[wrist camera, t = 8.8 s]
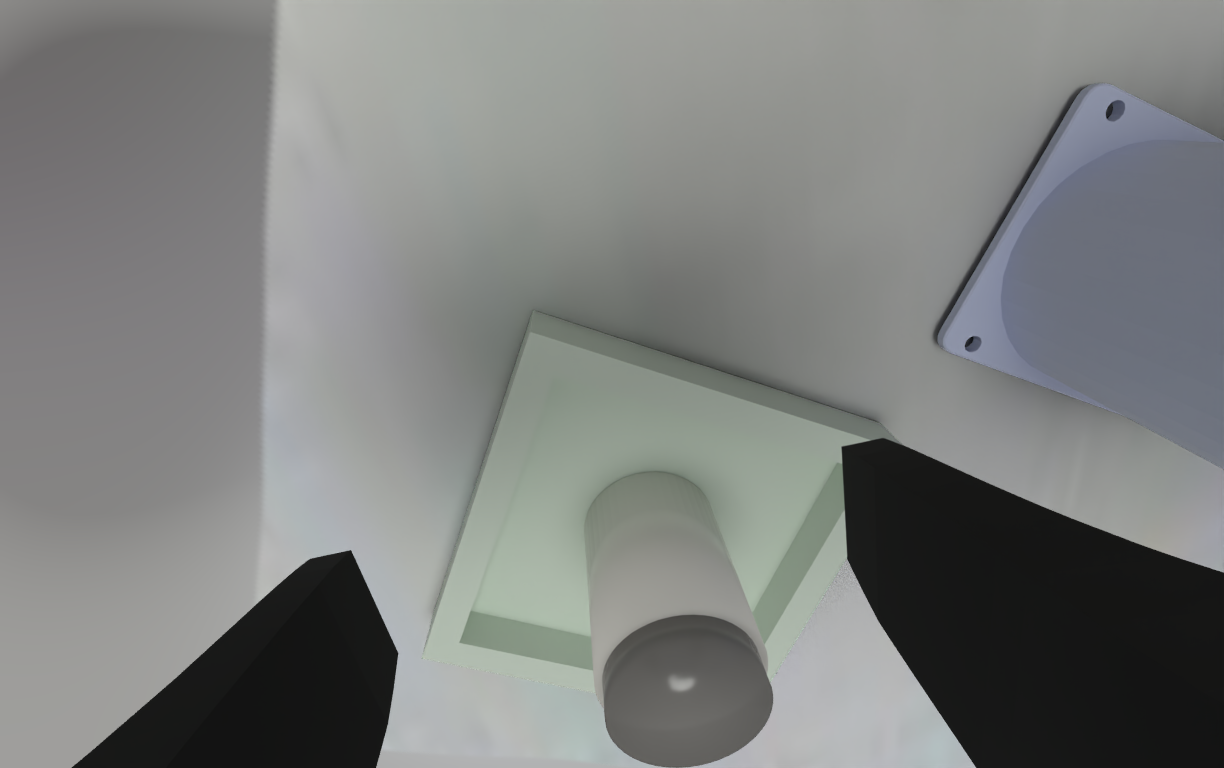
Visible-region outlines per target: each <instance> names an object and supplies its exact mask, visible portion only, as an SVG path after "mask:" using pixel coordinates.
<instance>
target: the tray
mask: <svg viewBox="0 0 1224 768" xmlns="http://www.w3.org/2000/svg"><path fill="white" fill-rule="evenodd" d="M880 438H885V439H888V440H891V441H893V442H896V443H898V444H901V443H900V442H899V441H898V440H897V439H896V438H895V437H894V436H893V435H892V434H891V433H890V432H889V431H888V430H887V429H886V428H885V427H884V426H883V425H882V424H881V423H878V422H875V421H872V420H869V419H866V418H863V417H860V416H857V415H854V414H851V413H848V412H845V411H841V410H838V409H835V408H832V407H829V406H826V405H823V404H820V403H817V402H814V401H811V400H808V399H805V398H802V397H798V396H795V395H792V394H789V393H786V392H783V391H780V390H777V389H774V388H771V387H768V386H765V385H762V384H759V383H755V382H752V381H749V380H746V379H743V378H740V377H737V376H734V375H731V374H728V373H725V372H722V371H719V370H715V369H712V368H709V367H706V366H703V365H700V364H697V363H694V362H691V361H688V360H685V359H682V358H679V357H676V356H672V355H669V354H666V353H663V352H660V351H657V350H654V349H651V348H648V347H645V346H642V345H639V344H636V343H633V342H629V341H626V340H623V339H620V338H617V337H614V336H611V335H608V334H605V333H602V332H599V331H596V330H593V329H589V328H586V327H583V326H580V325H577V324H574V323H571V322H568V321H565V320H562V319H559V318H556V317H553V316H550V315H546V314H543V313H540V312H537V311H534V310H533V312H532V315H531V318H530V321H529V324H528V327H527V330H526V333H525V336H524V339H523V342H522V345H521V348H520V351H519V354H518V357H517V360H516V363H515V366H514V370H513V373H512V376H511V379H510V382H509V385H508V388H507V391H506V394H505V397H504V400H503V403H502V406H501V409H500V412H499V415H498V418H497V421H496V424H495V427H494V430H493V433H492V436H491V439H490V442H489V445H488V448H487V452H486V455H485V458H484V461H483V464H482V467H481V470H480V473H479V476H478V479H477V482H476V485H475V488H474V491H473V494H472V497H471V500H470V503H469V506H468V509H467V512H466V515H465V518H464V521H463V524H462V527H461V531H460V534H459V537H458V540H457V543H456V546H455V549H454V552H453V555H452V558H451V561H450V564H449V567H448V570H447V573H446V576H445V579H444V582H443V585H442V588H441V591H440V594H439V597H438V600H437V603H436V606H435V609H434V613H433V616H432V620H431V624H430V628H429V632H428V636H427V640H426V643H425V647H424V651H423V655H422V659H426V660H431V661H436V662H441V663H446V664H451V665H456V666H461V667H466V668H471V669H476V670H481V671H486V672H491V673H496V674H501V675H506V676H511V677H516V678H521V679H526V680H531V681H536V682H541V683H546V684H551V685H556V686H561V687H566V688H571V689H576V690H581V691H586V692H591V693H596V692H595V687H594V675H593V660H592V644H591V629H590V614H589V599H588V584H587V569H586V553H585V538H584V524H585V519H586V516H587V513H588V510H589V508H590V506H591V505H592V503H593V502H594V500H595V499H596V498H597V497H598V496H599V494H600V493H601V492H602V491H604V490H605V489H606V488H607V487H609V486H610V485H612V484H613V483H615V482H617V481H619V480H620V479H622V478H625V477H628V476H631V475H634V474H638V473H645V472H664V473H670V474H674V475H677V476H680V477H683V478H685V479H687V480H689V481H690V482H692V483H693V484H695V485H696V486H697V487H698V488H699V489H700V490H701V491H702V492H703V493H704V494H705V496H706V497H707V499H708V501H709V502H710V505H711V508H712V510H713V513H714V515H715V518H716V521H717V523H718V526H719V528H720V531H721V534H722V536H723V539H724V541H725V544H726V547H727V549H728V552H729V554H730V557H731V559H732V562H733V565H734V567H735V570H736V572H737V575H738V578H739V580H740V583H741V585H742V588H743V591H744V593H745V596H746V598H747V601H748V604H749V606H750V609H751V611H752V614H753V617H754V619H755V622H756V624H757V627H758V630H759V632H760V635H761V637H762V640H763V643H764V645H765V648H766V650H767V655H768V671H767V676H768V679H769V682H771V681H772V679H773V677H774V676H775V674H776V673H777V671H778V669H779V668H780V666H781V664H782V663H783V661H784V659H785V658H786V656H787V655H788V653H789V651H790V650H791V648H792V646H793V645H794V643H795V642H796V640H797V638H798V637H799V635H800V633H801V632H802V630H803V628H804V627H805V625H806V624H807V622H808V620H809V619H810V617H811V615H812V614H813V612H814V611H815V609H816V607H817V606H818V604H819V602H820V601H821V599H822V597H823V596H824V594H825V593H826V591H827V589H828V588H829V586H830V584H831V583H832V581H833V580H834V578H835V576H836V575H837V573H838V571H839V570H840V568H841V566H842V565H843V563H844V562H845V560H846V558H847V544H846V525H845V506H844V487H843V468H842V449H841V447H842V446H847V445H852V444H856V443H861V442H866V441H870V440H875V439H880ZM901 445H902V444H901Z"/></svg>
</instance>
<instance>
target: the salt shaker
mask: <svg viewBox="0 0 1224 768" xmlns="http://www.w3.org/2000/svg"><path fill="white" fill-rule="evenodd" d="M584 538H585V553H586V569H587V584H588V599H589V614H590V629H591V644H592V660H593V675H594V687H595V692H596V695H597V698H598V701H599V702H600V704H601V706H602V707H603V709H604V713H605V722H606V728H607V731H608V733H609V735H610V737H611V739H612V741H613V742H614V743H615V744H616V745H617V747H618V748H620V749H621V750H622V751H623V752H624V753H626V754H627V755H629V756H630V757H632V758H634V759H636V760H639V761H641V762H644V763H647V764H651V765H655V766H661V767H676V768H679V767H691V766H698V765H703V764H707V763H711V762H714V761H717V760H720V759H722V758H724V757H727V756H729V755H731V754H733V753H734V752H736V751H738V750H739V749H741V748H742V747H744V746H745V745H747V744H748V743H749V742H750V741H751V740H753V739H754V738H755V737H756V736H757V734H758V733H759V732H760V731H761V730H762V728H763V727H764V726H765V724H766V722H767V720H768V718H769V716H770V713H771V710H772V705H773V692H772V687H771V684H770V682H769V679H768V676H767V671H768V655H767V650H766V648H765V645H764V643H763V640H762V637H761V635H760V632H759V630H758V627H757V624H756V622H755V619H754V617H753V614H752V611H751V609H750V606H749V604H748V601H747V598H746V596H745V593H744V591H743V588H742V585H741V583H740V580H739V578H738V575H737V572H736V570H735V567H734V565H733V562H732V559H731V557H730V554H729V552H728V549H727V547H726V544H725V541H724V539H723V536H722V534H721V531H720V528H719V526H718V523H717V521H716V518H715V515H714V513H713V510H712V508H711V505H710V502H709V501H708V499H707V497H706V496H705V494H704V493H703V492H702V491H701V490H700V489H699V488H698V487H697V486H696V485H695V484H693V483H692V482H690V481H689V480H687V479H685V478H683V477H680V476H677V475H674V474H670V473H664V472H645V473H638V474H634V475H631V476H628V477H625V478H622V479H620V480H619V481H617V482H615V483H613V484H612V485H610V486H609V487H607V488H606V489H605V490H604V491H602V492H601V493H600V494H599V496H598V497H597V498H596V499H595V500H594V502H593V503H592V505H591V506H590V508H589V510H588V513H587V516H586V519H585V524H584Z"/></svg>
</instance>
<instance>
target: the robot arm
mask: <svg viewBox="0 0 1224 768" xmlns="http://www.w3.org/2000/svg"><path fill="white" fill-rule="evenodd" d="M1111 103H1112V104H1113V111H1112V114H1111V115H1110V116H1109V118H1108V119H1107V118H1106V110H1107V107H1108V106H1109V105H1110V104H1111ZM972 336H973V337H974V339H973V342H972V343H971V344H970V346H968V347H965V343H966V341H967V340H968V339H969V338H970V337H972ZM938 344H939V345H940V347H941V348H943V349H944V350H946V351H947V352H949V353H951V354H954V355H957V356H960V357H962V358H965V359H968V360H971V361H973V362H976V363H979V364H982V365H984V366H987V367H990V368H993V369H995V370H998V371H1001V372H1004V373H1006V374H1009V375H1012V376H1015V377H1018V378H1020V379H1023V380H1026V381H1029V382H1031V383H1034V384H1037V385H1040V386H1042V387H1045V388H1048V389H1051V390H1053V391H1056V392H1059V393H1062V394H1065V395H1067V396H1070V397H1073V398H1076V399H1078V400H1081V401H1084V402H1087V403H1089V404H1092V405H1095V406H1098V407H1100V408H1103V409H1106V410H1109V411H1112V412H1114V413H1117V414H1120V415H1123V416H1125V417H1127V418H1129V419H1131V420H1132V421H1134V422H1136V423H1138V424H1140V425H1142V426H1144V427H1146V428H1147V429H1149V430H1151V431H1153V432H1155V433H1157V434H1159V435H1161V436H1162V437H1164V438H1166V439H1168V440H1170V441H1172V442H1174V443H1175V444H1177V445H1179V446H1181V447H1183V448H1185V449H1187V450H1189V451H1190V452H1192V453H1194V454H1196V455H1198V456H1200V457H1202V458H1204V459H1205V460H1207V461H1209V462H1211V463H1213V464H1215V465H1217V466H1218V467H1220V468H1222V469H1224V140H1222V139H1220V138H1218V137H1216V136H1214V135H1212V134H1210V133H1208V132H1206V131H1204V130H1202V129H1200V128H1198V127H1196V126H1194V125H1192V124H1190V123H1188V122H1186V121H1184V120H1182V119H1180V118H1178V117H1176V116H1174V115H1172V114H1170V113H1168V112H1166V111H1164V110H1162V109H1160V108H1157V107H1155V106H1153V105H1151V104H1149V103H1147V102H1145V101H1143V100H1141V99H1139V98H1137V97H1135V96H1133V95H1131V94H1129V93H1127V92H1125V91H1123V90H1121V89H1119V88H1117V87H1115V86H1113V85H1111V84H1107V83H1097V84H1092V85H1088V86H1087V87H1086V88H1084V89H1083V90H1081V92H1080V93H1079V94H1078V95H1077V97H1076V98H1075V100H1074V102H1073V103H1072V105H1071V107H1070V109H1069V110H1068V112H1067V114H1066V115H1065V117H1064V119H1063V121H1062V122H1061V124H1060V126H1059V127H1058V129H1057V131H1056V133H1055V134H1054V136H1053V138H1052V139H1051V141H1050V143H1049V145H1048V146H1047V148H1046V150H1045V151H1044V153H1043V155H1042V156H1041V158H1040V160H1039V162H1038V163H1037V165H1036V167H1035V168H1034V170H1033V172H1032V174H1031V175H1030V177H1029V179H1028V180H1027V182H1026V184H1025V186H1024V187H1023V189H1022V191H1021V192H1020V194H1019V196H1018V198H1017V199H1016V201H1015V203H1014V204H1013V206H1012V208H1011V210H1010V211H1009V213H1008V215H1007V216H1006V218H1005V220H1004V222H1003V223H1002V225H1001V227H1000V228H999V230H998V232H997V234H996V235H995V237H994V239H993V240H992V242H991V244H990V245H989V247H988V249H987V251H986V252H985V254H984V256H983V257H982V259H981V261H980V263H979V264H978V266H977V268H976V269H975V271H974V273H973V275H972V276H971V278H970V280H969V281H968V283H967V285H966V287H965V288H964V290H963V292H962V293H961V295H960V297H959V299H958V300H957V302H956V304H955V305H954V307H953V309H952V311H951V312H950V314H949V316H948V317H947V319H946V321H945V322H944V324H943V326H942V328H941V329H940V331H939V334H938ZM841 449H842V468H843V487H844V506H845V525H846V544H847V559H848V561H849V563H850V566H851V568H852V570H853V572H854V574H855V576H856V578H857V580H858V582H859V584H860V586H861V588H862V590H863V592H864V594H865V596H866V598H867V600H868V602H869V604H870V606H871V608H872V610H873V611H874V613H875V615H876V617H877V619H878V621H879V623H880V624H881V626H882V627H883V629H884V630H885V632H886V633H887V635H888V637H889V638H890V640H891V641H892V643H893V644H894V646H895V647H896V649H897V650H898V652H899V653H900V655H901V656H902V658H903V659H904V661H905V662H906V664H907V665H908V667H909V668H910V670H911V671H912V673H913V674H914V676H915V677H916V679H917V680H918V682H919V683H920V685H921V686H922V688H923V689H924V691H925V692H926V694H927V695H928V697H929V698H930V700H931V701H932V703H933V704H934V705H935V707H936V708H937V710H938V711H939V713H940V714H941V716H942V717H943V719H944V720H945V722H946V723H947V725H948V726H949V728H950V729H951V731H952V732H953V734H954V735H955V737H956V738H957V740H958V741H959V743H960V744H961V746H962V747H963V749H964V750H965V752H966V753H967V755H968V756H969V758H970V759H971V761H972V762H973V764H974V765H975V767H976V768H1224V573H1223V572H1220V571H1217V570H1214V569H1211V568H1207V567H1204V566H1201V565H1198V564H1195V563H1192V562H1189V561H1186V560H1183V559H1180V558H1177V557H1174V556H1171V555H1168V554H1165V553H1162V552H1159V551H1157V550H1154V549H1151V548H1148V547H1145V546H1142V545H1140V544H1137V543H1134V542H1131V541H1129V540H1126V539H1124V538H1121V537H1118V536H1116V535H1113V534H1111V533H1108V532H1105V531H1103V530H1100V529H1097V528H1095V527H1092V526H1090V525H1087V524H1084V523H1082V522H1079V521H1077V520H1074V519H1071V518H1069V517H1066V516H1064V515H1062V514H1059V513H1057V512H1054V511H1052V510H1049V509H1047V508H1044V507H1042V506H1040V505H1037V504H1035V503H1033V502H1030V501H1028V500H1025V499H1023V498H1021V497H1018V496H1016V495H1014V494H1011V493H1009V492H1007V491H1005V490H1002V489H1000V488H998V487H995V486H993V485H991V484H989V483H986V482H984V481H982V480H980V479H977V478H975V477H973V476H971V475H968V474H966V473H964V472H962V471H959V470H957V469H955V468H953V467H951V466H948V465H946V464H944V463H942V462H940V461H937V460H935V459H933V458H931V457H928V456H926V455H924V454H922V453H919V452H917V451H915V450H913V449H910V448H908V447H906V446H903V445H901V444H898V443H896V442H893V441H891V440H888V439H885V438H880V439H875V440H870V441H866V442H861V443H856V444H852V445H847V446H842V447H841ZM397 659H398V652H397V650H396V647H395V645H394V643H393V641H392V639H391V637H390V634H389V632H388V630H387V628H386V626H385V623H384V621H383V619H382V617H381V615H380V613H379V610H378V608H377V606H376V604H375V602H374V599H373V597H372V595H371V593H370V591H369V589H368V586H367V584H366V582H365V580H364V578H363V575H362V573H361V571H360V569H359V567H358V565H357V562H356V560H355V558H354V556H353V554H352V551H351V550H350V551H345V552H341V553H336V554H331V555H326V556H322V557H317V558H312V559H309V560H308V561H307V562H305V563H304V564H303V565H301V566H300V567H299V568H298V569H296V570H295V571H294V572H293V573H292V574H290V575H289V576H288V577H287V578H286V579H284V580H283V581H282V582H281V583H280V584H279V585H278V586H276V587H275V588H274V589H273V590H272V591H271V592H270V593H269V594H267V595H266V596H265V597H264V598H263V599H262V600H261V601H260V602H259V603H258V604H256V605H255V606H254V607H253V608H252V609H251V610H250V611H249V612H248V613H247V614H246V615H244V616H243V617H242V618H241V619H240V620H239V621H238V622H237V623H236V624H235V625H234V626H233V627H231V628H230V629H229V630H228V631H227V632H226V633H225V634H224V635H223V636H222V637H220V638H219V639H218V640H217V641H216V642H215V643H214V644H213V645H212V646H211V647H209V648H208V649H207V650H206V651H205V652H204V653H203V654H202V655H201V656H200V657H199V658H197V659H196V660H195V661H194V662H193V663H192V664H191V665H190V666H189V667H188V668H187V669H185V670H184V671H183V672H182V673H181V674H180V675H179V676H178V677H177V678H176V679H174V680H173V681H172V682H171V683H170V684H169V685H167V686H166V687H165V688H164V689H163V690H162V691H161V692H159V693H158V694H157V695H156V696H155V697H154V698H152V699H151V700H150V701H149V702H148V703H147V704H146V705H144V706H143V707H142V708H141V709H140V710H139V711H137V713H135V714H134V715H133V716H132V717H130V718H129V719H128V720H127V721H126V722H125V723H124V724H122V725H121V726H120V727H119V728H118V729H117V730H115V731H114V732H113V733H112V734H111V735H110V736H108V737H107V738H106V739H105V740H104V741H103V742H102V743H100V744H99V745H98V746H97V747H96V748H95V749H93V750H92V751H91V752H90V753H89V754H88V755H86V756H85V757H84V758H83V759H82V760H80V761H79V762H78V763H77V764H75V765H74V766H73V767H72V768H376V766H377V762H378V758H379V755H380V751H381V748H382V744H383V740H384V736H385V733H386V729H387V725H388V720H389V714H390V708H391V702H392V696H393V689H394V681H395V674H396V666H397Z"/></svg>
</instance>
